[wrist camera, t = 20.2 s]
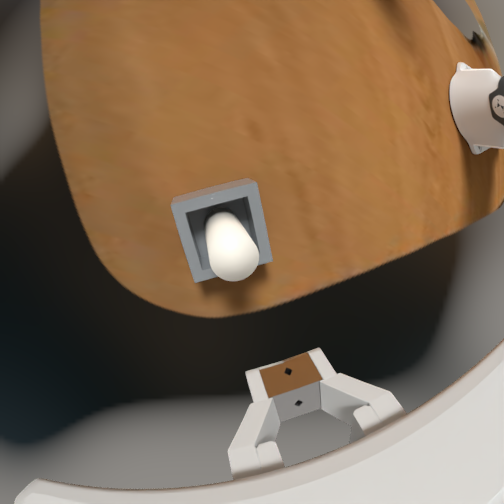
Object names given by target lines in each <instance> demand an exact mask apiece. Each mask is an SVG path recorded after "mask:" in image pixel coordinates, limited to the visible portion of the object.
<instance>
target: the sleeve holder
mask: <svg viewBox="0 0 504 504" xmlns="http://www.w3.org/2000/svg"><path fill="white" fill-rule="evenodd" d="M221 207H222V208H227V209H229V210H231V211H232V212H233V213H234V214H235V215H236V217H237V218H238V220H239V221H240V223H241V224H242V226H243V227H244V228H245V230H246V231H247V233H248V234H249V236H250V237H251V239H252V240H253V242H254V243H255V245H256V246H257V249H258V252H259V262H258V265H261V264H265V263H268V262H271V261H273V259H272V254H271V249H270V244H269V239H268V234H267V229H266V224H265V219H264V215H263V210H262V205H261V200H260V195H259V191H258V186H257V182H255V181H253V180H251V179H249V178H245V179H240V180H236V181H232V182H228V183H224V184H220V185H217V186H213V187H209V188H205V189H201V190H198V191H194V192H191V193H187V194H184V195H180V196H177V197H174V198H173V200H172V203H171V208H172V212H173V215H174V219H175V222H176V225H177V229H178V232H179V235H180V239H181V242H182V245H183V248H184V251H185V254H186V258H187V261H188V264H189V267H190V270H191V273H192V276H193V279H194V282H195V283H197V282H200V281H204V280H208V279H211V278H215V277H218V276H217V275H216V274H215V273H214V272H213V270H212V268H211V266H210V261H209V255H208V249H207V243H206V237H205V230H204V220H205V217H206V216H207V214H208V213H209V212H210V211H212V210H213V209H216V208H221Z"/></svg>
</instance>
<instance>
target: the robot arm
mask: <svg viewBox="0 0 504 504" xmlns="http://www.w3.org/2000/svg"><path fill="white" fill-rule="evenodd" d="M450 104H451V109H452V113H453V117H454V120H455V122H456V125H457V127H458V129H459V131H460V133H461V134H462V136H463V137H464V138H465V139H466V140H467V142H468V143H469V146H470V149H471V151H472V153H473V154H480V153H482V152H483V151H485V150H487V149H489V148H491V147H492V148H500V149H504V76H503V77H501V76H499V75H498V74H497V73H496V72H494V71H493V70H492V69H472V68H470V67H469V66H467V65H466V64H464V63H462V62H459V63H458V64H457V70H456V73H455V75H454V76H453V77H452V80H451V83H450ZM246 377H247V381H248V384H249V388H250V392H251V395H252V399H253V402H254V403H251V404H250V405H249V407H248V409H247V411H246V414H245V416H244V418H243V420H242V422H241V424H240V426H239V429H238V431H237V433H236V435H235V437H234V439H233V441H232V443H231V445H230V447H229V449H228V455H229V460H230V465H231V470H232V475H233V480H231V481H226V482H220V483H214V484H207V485H199V486H190V487H179V488H163V489H115V488H102V487H92V486H83V485H75V484H69V483H63V482H58V481H53V480H48V479H44V478H37V479H35V480H34V481H32V482H31V483H30V484H29V485H28V486H27V487H26V488H25V489H24V490H23V491H22V492H21V493H20V494H19V495H18V496H17V497H16V500H15V502H14V504H504V339H503V340H502V341H501V342H500V343H499V344H498V345H497V346H496V347H495V348H493V350H491V352H489V353H488V354H487V355H486V356H485V357H484V358H483V359H482V360H480V361H479V362H478V363H477V364H476V365H475V366H473V367H472V368H471V369H470V370H468V371H467V372H466V373H465V374H464V375H462V376H461V377H460V378H459V379H457V380H456V381H455V382H453V383H452V384H451V385H450V386H448V387H447V388H445V389H444V390H442V391H441V392H440V393H438V394H437V395H436V396H434V397H433V398H431V399H430V400H428V401H427V402H425V403H424V404H422V405H420V406H419V407H417V408H416V409H414V410H412V411H411V412H409V413H406V411H405V410H404V409H403V408H402V406H401V405H400V404H399V402H398V401H397V400H396V398H395V397H394V396H393V394H392V393H391V392H390V391H387V390H384V389H381V388H379V387H376V386H373V385H370V384H368V383H365V382H362V381H359V380H357V379H354V378H352V377H349V376H347V375H344V374H342V373H339V374H336V372H335V371H334V369H333V367H332V366H331V364H330V363H329V361H328V360H327V358H326V357H325V355H324V354H323V352H322V350H321V349H320V348H317V349H314V350H311V351H308V352H307V353H303V354H300V355H297V356H294V357H292V358H289V359H286V360H283V361H280V362H277V363H273V364H270V365H267V366H263V367H259V369H258V368H256V369H253V370H249V371H246ZM318 409H322V410H324V411H325V412H327V413H329V414H330V415H332V416H334V417H336V418H337V419H339V420H341V421H343V422H344V423H346V424H348V425H350V426H352V427H351V434H350V441H349V443H350V444H347V445H345V446H343V447H341V448H338V449H336V450H333V451H331V452H328V453H326V454H323V455H320V456H318V457H315V458H312V459H309V460H307V461H304V462H301V463H298V464H295V465H292V466H288V467H285V466H284V463H283V460H282V458H281V455H280V452H279V450H278V447H277V444H276V443H275V441H276V437H277V434H278V431H279V427H280V423H281V422H284V421H287V420H289V419H292V418H295V417H298V416H300V415H303V414H306V413H309V412H312V411H315V410H318Z"/></svg>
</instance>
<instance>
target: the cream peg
mask: <svg viewBox="0 0 504 504" xmlns="http://www.w3.org/2000/svg"><path fill="white" fill-rule="evenodd" d="M204 230H205V237H206V243H207V249H208V255H209V261H210V266H211V268H212V270H213V272H214V273H215V274H216V275H217V276H218V277H220V278H221V279H224V280H227V281H239V280H243V279H245V278H247V277H248V276H250V275H251V274H252V273H253V272H254V270H255V269H256V267H257V265H258V262H259V252H258V249H257V246H256V245H255V243H254V242H253V240H252V239H251V237H250V236H249V234H248V233H247V231H246V230H245V228H244V227H243V226H242V224H241V223H240V221H239V220H238V218H237V217H236V215H235V214H234V213H233V212H232V211H231V210H229V209H227V208H222V207H221V208H216V209H213V210H212V211H210V212H209V213H208V214H207V216H206V217H205V220H204Z"/></svg>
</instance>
